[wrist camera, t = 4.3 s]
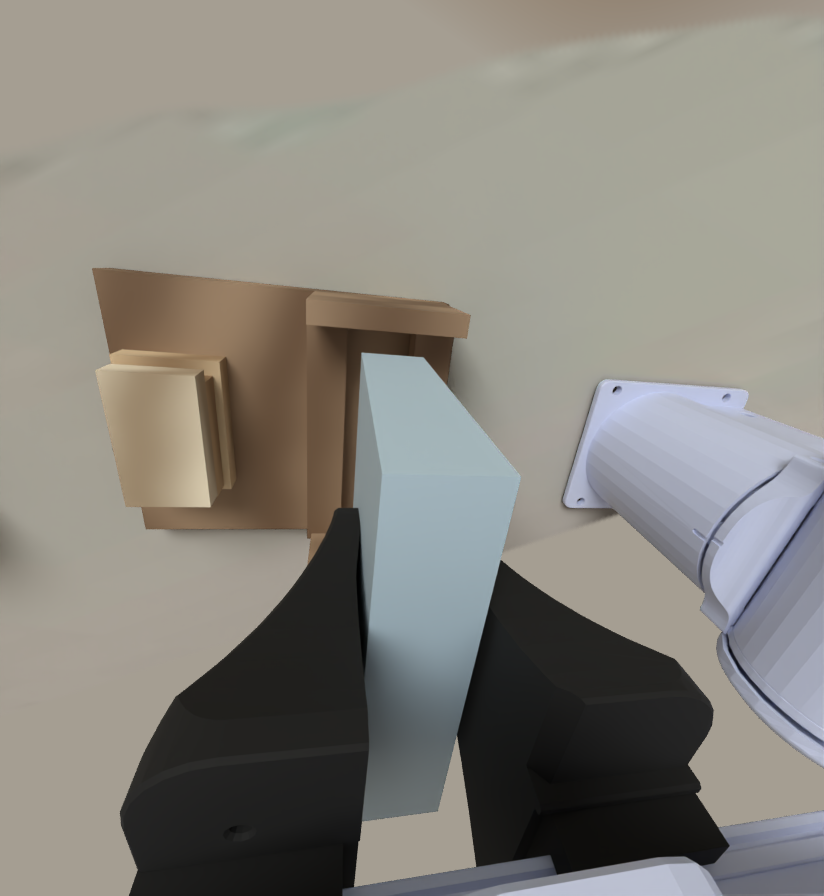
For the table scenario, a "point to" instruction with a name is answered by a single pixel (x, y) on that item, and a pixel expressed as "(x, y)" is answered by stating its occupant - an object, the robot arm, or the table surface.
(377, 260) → the table surface
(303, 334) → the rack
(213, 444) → the offcut stack
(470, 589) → the tall sheet
